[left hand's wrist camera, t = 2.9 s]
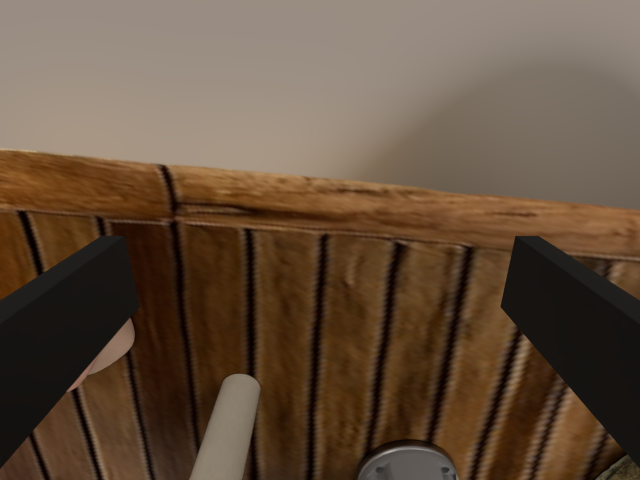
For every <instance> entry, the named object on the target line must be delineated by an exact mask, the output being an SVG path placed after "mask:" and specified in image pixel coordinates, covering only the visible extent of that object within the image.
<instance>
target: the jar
mask: <svg viewBox="0 0 640 480" xmlns="http://www.w3.org/2000/svg"><path fill="white" fill-rule="evenodd" d="M259 396H260V386H259V384H258V382H257V381H256V380H255V379H254V378H253V377H251V376H249V375H246V374H233V375H230V376H228V377H227V378H226V379H225V380H224V381H223V382H222V385H221V388H220V391H219V394H218V396H217V399H216V402H215V405H214V408H213V411H212V414H211V417H210V420H209V423H208V426H207V429H206V432H205V434H204V437H203V440H202V443H201V446H200V449H199V452H198V455H197V458H196V461H195V464H194V467H193V470H192V472H191V475H190V478H189V480H243V476H244V471H245V466H246V461H247V456H248V451H249V446H250V441H251V436H252V431H253V426H254V421H255V416H256V411H257V406H258V401H259Z"/></svg>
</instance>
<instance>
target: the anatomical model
mask: <svg viewBox="0 0 640 480" xmlns="http://www.w3.org/2000/svg"><path fill="white" fill-rule="evenodd" d="M134 338H135V332H134V327H133V323H132V320H131V318H129V320H128V321H127V322H126V323H125V324H124V325H123V327H122V328H121V329H120V330H119V331H118V332H117V334H116V335H115V336H114V337H113V338H112V339H111V341H110V342H109V343H108V344H107V345H106V346H105V348H104V349H103V350H102V351H101V352H100V353H99V354H98V356H97V357H96V358H95V359H94V360H93V361H92V363H91V364H90V365H89V366H88V367H87V368H86V370H85V371H84V372H83V373H82V374H81V375H80V377H79V378H78V379H77V380H76V381H75V382H74V384H73V385H72V386H71V387H70V388H69V389H68V391H71V390H73V389H74V388H76V387H77V386H78V385H79V384H80V383H81V382H82V381H83V380H84V379H85V378H86V376H87V375H89V374H93V373H96V372H98V371H100V370H102V369H104V368H106V367H107V366H109V365H110V364H112V363H113V362H115V361H116V360H118V359H119V358H120V357H122V356H123V355H124V354H125V353H126V352H127V351H128V350H129V349H130V348H131V346H132V345H133V343H134ZM68 391H67V392H68Z"/></svg>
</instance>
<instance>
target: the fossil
mask: <svg viewBox="0 0 640 480" xmlns="http://www.w3.org/2000/svg"><path fill="white" fill-rule="evenodd" d="M595 480H640V468H639V467H638V466H637V465H636V464H635V463H634V461H633V460H632V459H631V458H630V457H629V456H628V455H626V456H624V457H623V458H621V459H620V460H619V461H618V462H616V463H615V464H613V465H612V466H611V467H610V468H609V469H608V470H606V471H605V472H603V473H602V474H601V475H600V476H598V477H597V478H596V479H595Z"/></svg>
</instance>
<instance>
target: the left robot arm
mask: <svg viewBox="0 0 640 480" xmlns="http://www.w3.org/2000/svg"><path fill="white" fill-rule="evenodd" d="M138 308H139V302H138V298H137V293H136V288H135V283H134V279H133V274H132V269H131V265H130V260H129V255H128V250H127V246H126V241H125V236H101V237H99V238H98V239H96V240H95V241H93V242H91V243H90V244H88V245H87V246H85V247H84V248H82V249H80V250H79V251H77V252H76V253H74V254H73V255H71V256H69V257H68V258H66V259H65V260H63V261H62V262H60V263H58V264H57V265H55V266H54V267H52V268H51V269H49V270H47V271H46V272H44V273H43V274H41V275H40V276H38V277H36V278H35V279H33V280H32V281H30V282H29V283H27V284H25V285H24V286H22V287H21V288H19V289H18V290H16V291H14V292H13V293H11V294H10V295H8V296H7V297H5V298H3V299H2V300H0V468H1V467H2V466H3V465H4V464H5V463H6V461H7V460H8V459H9V458H10V457H11V456H12V454H13V453H14V452H15V451H16V450H17V449H18V448H19V446H20V445H21V444H22V443H23V442H24V441H25V439H26V438H27V437H28V436H29V435H30V434H31V432H32V431H33V430H34V429H35V428H36V427H37V425H38V424H39V423H40V422H41V421H42V420H43V418H44V417H45V416H46V415H47V414H48V413H49V411H50V410H51V409H52V408H53V407H54V406H55V404H56V403H57V402H58V401H59V400H60V399H61V398H62V396H63V395H64V394H65V393H66V392H67V391H68V389H69V388H70V387H71V386H72V385H73V384H74V382H75V381H76V380H77V379H78V378H79V377H80V375H81V374H82V373H83V372H84V371H85V370H86V368H87V367H88V366H89V365H90V364H91V363H92V361H93V360H94V359H95V358H96V357H97V356H98V354H99V353H100V352H101V351H102V350H103V349H104V348H105V346H106V345H107V344H108V343H109V342H110V341H111V339H112V338H113V337H114V336H115V335H116V334H117V332H118V331H119V330H120V329H121V328H122V327H123V325H124V324H125V323H126V322H127V321H128V320H129V318H130V317H131V316H132V315H133V314H134V313H135V311H136V310H137V309H138ZM501 308H502V309H503V310H504V311H505V313H506V314H507V315H508V316H509V317H510V318H511V320H512V321H513V322H514V323H515V324H516V325H517V327H518V328H519V329H520V330H521V331H522V332H523V334H524V335H525V336H526V337H527V338H528V339H529V341H530V342H531V343H532V344H533V345H534V346H535V348H536V349H537V350H538V351H539V352H540V353H541V354H542V356H543V357H544V358H545V359H546V360H547V361H548V363H549V364H550V365H551V366H552V367H553V368H554V370H555V371H556V372H557V373H558V374H559V375H560V377H561V378H562V379H563V380H564V381H565V382H566V384H567V385H568V386H569V387H570V388H571V389H572V391H573V392H574V393H575V394H576V395H577V396H578V398H579V399H580V400H581V401H582V402H583V403H584V404H585V406H586V407H587V408H588V409H589V410H590V411H591V413H592V414H593V415H594V416H595V417H596V418H597V420H598V421H599V422H600V423H601V424H602V425H603V427H604V428H605V429H606V430H607V431H608V432H609V434H610V435H611V436H612V437H613V438H614V439H615V441H616V442H617V443H618V444H619V445H620V446H621V448H622V449H623V450H624V451H625V452H626V453H627V454H628V456H629V457H630V458H631V459H632V460H633V461H634V463H635V464H636V465H637V466H638V467H639V468H640V300H638V299H637V298H635V297H633V296H632V295H630V294H629V293H627V292H626V291H624V290H622V289H621V288H619V287H618V286H616V285H615V284H613V283H611V282H610V281H608V280H607V279H605V278H604V277H602V276H600V275H599V274H597V273H596V272H594V271H593V270H591V269H589V268H588V267H586V266H585V265H583V264H582V263H580V262H578V261H577V260H575V259H574V258H572V257H571V256H569V255H567V254H566V253H564V252H563V251H561V250H560V249H558V248H556V247H555V246H553V245H552V244H550V243H549V242H547V241H545V240H544V239H542V238H541V237H539V236H515V241H514V246H513V250H512V255H511V260H510V265H509V269H508V274H507V279H506V283H505V288H504V293H503V298H502V302H501ZM357 480H459V479H458V474H457V471H456V468H455V465H454V463H453V460H452V459H451V457H450V456H449V455H448V454H447V453H446V452H445V451H444V450H443V449H441V448H439V447H438V446H435V445H433V444H430V443H427V442H422V441H414V440H406V441H398V442H393V443H389V444H386V445H384V446H381V447H379V448H377V449H376V450H374V451H373V452H371V453H370V454H369V455H368V456H366V458H365V459H364V460H363V461H362V462H361V464H360V466H359V468H358V471H357Z"/></svg>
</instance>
